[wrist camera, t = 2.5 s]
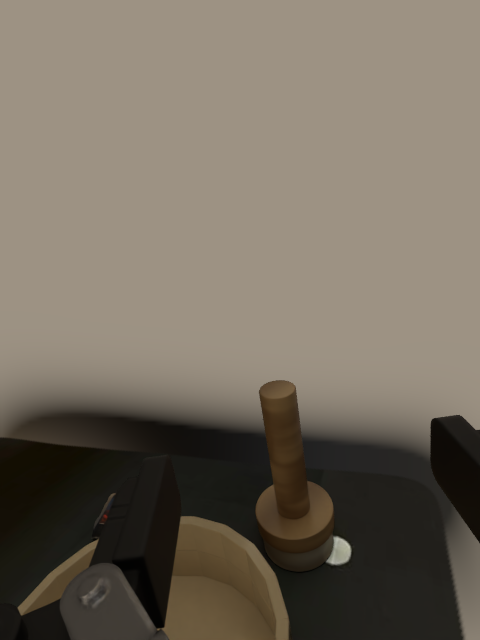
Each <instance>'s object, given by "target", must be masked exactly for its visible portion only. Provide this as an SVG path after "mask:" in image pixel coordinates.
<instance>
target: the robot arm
mask: <svg viewBox="0 0 480 640" xmlns="http://www.w3.org/2000/svg"><path fill="white" fill-rule="evenodd" d="M430 460H431V468H432V471H433V474H434V477H435V479H436V481H437V483H438V484H439V486H440V487H441V488H442V490H443V491H444V493H445V494H446V496H447V497H448V498H449V500H450V501H451V503H452V504H453V505H454V507H455V508H456V510H457V511H458V513H459V514H460V515H461V517H462V518H463V520H464V521H465V523H466V524H467V525H468V527H469V528H470V530H471V531H472V533H473V534H474V535H475V537H476V538H477V540H478V541H479V543H480V430H475V429H474V428H473V427H472V426H471V425H470V424H469V423H468V422H467V421H466V420H465V419H464V418H463V417H462V416H460V415H454V416H448V417H440V418H434V419H432V421H431V457H430ZM180 519H181V499H180V494H179V489H178V485H177V481H176V477H175V473H174V469H173V465H172V461H171V458H170V456H169V455H164V456H157V457H150V458H145V459H144V460H143V462H142V466H141V469H140V472H139V475H138V477H131V478H128V479H127V480H126V481H125V482H124V483H123V484H122V486H121V487H120V488H119V489H118V490H117V492H116V494H115V497H114V500H113V502H112V505H111V509H110V511H109V513H108V516H107V521H105V524H104V527H103V529H102V532H101V535H100V537H99V540H98V543H97V546H96V548H95V551H94V554H93V556H92V559H91V562H90V564H89V567H88V568H86V569H85V570H83V571H82V572H80V573H79V574H78V575H76V576H75V577H74V578H73V579H72V580H71V581H70V583H69V584H68V585H67V587H66V588H65V590H64V592H63V594H62V596H61V598H60V599H58V600H56V601H54V602H52V603H50V604H48V605H45V606H43V607H41V608H38V609H36V610H34V611H31V612H29V613H27V614H24V615H22V616H21V614H20V612H19V610H18V608H17V607H16V606H14V605H12V604H7V603H4V604H0V640H170V639H169V638H168V636H167V635H166V633H165V632H164V631H163V630H162V629H159V628H164V627H165V620H166V614H167V607H168V600H169V593H170V587H171V580H172V573H173V566H174V560H175V553H176V546H177V539H178V533H179V526H180ZM157 629H159V630H157Z"/></svg>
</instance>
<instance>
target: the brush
mask: <svg viewBox="0 0 480 640" xmlns="http://www.w3.org/2000/svg"><path fill="white" fill-rule="evenodd" d="M259 394H260V401H261V407H262V413H263V420H264V426H265V433H266V439H267V445H268V451H269V458H270V465H271V471H272V477H273V484H274V485H272V486H270V487H269V488H267V489H266V490H265V491H264V492H263V493H262V494H261V496H260V497H259V499H258V501H257V504H256V518H257V524H258V529H259V532H260V534H261V536H262V538H263V541H264V546H265V550H266V553H267V555H268V556H269V558H270V559H271V560H272V561H273V562H274V563H275V564H276V565H278V566H280V567H281V568H284V569H286V570H289V571H296V572H302V571H308V570H312V569H314V568H316V567H318V566H320V565H321V564H323V563H324V562H325V561H326V560H327V559H328V557H329V556H330V554H331V552H332V549H333V543H334V540H333V529H334V523H335V521H334V510H333V503H332V500H331V498H330V496H329V495H328V493H327V492H326V491H325V490H324V489H323V488H321V487H320V486H319V485H317V484H315V483H312V482H309V481H307V476H306V468H305V460H304V452H303V444H302V436H301V428H300V421H299V420H300V419H299V411H298V403H297V395H296V387H295V385H294V384H293V383H291V382H289V381H282V380H279V381H272V382H268V383H266V384H264V385H263V386H262V387H261V388H260V390H259Z"/></svg>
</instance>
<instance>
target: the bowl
mask: <svg viewBox="0 0 480 640" xmlns="http://www.w3.org/2000/svg"><path fill="white" fill-rule="evenodd" d="M98 540H99V539H98ZM98 540H96V541H94V542H92V543H90V544H88V545H86V546H85V547H84V548H82V549H81V550H80V551H78V552H77V553H76V554H74V555H73V556H72V557H70V558H69V559H68V560H66V561H65V562H64V563H62V564H61V565H60V566H58V567H57V568H56V569H55V570H53V571H52V572H51V573H50V574H49V575H48V576H47V577H46V578H45V579H44V580H43V581H42V582H41V583H40V584H39V585H38V587H37V588H36V589H35V590H34V591H33V592H32V593H31V594H30V595H29V596H28V597H27V598H26V599H25V600H24V602H23V603H22V604H21V605H20V606H19V607H18V610H19V612H20V614H21V616H22V615H24V614H27V613H29V612H31V611H34V610H36V609H38V608H41V607H43V606H45V605H48V604H50V603H52V602H54V601H56V600H58V599H60V598H61V596H62V594H63V592H64V590H65V588H66V587H67V585H68V584H69V583H70V581H71V580H72V579H73V578H74V577H75V576H76V575H78V574H79V573H80V572H82V571H83V570H85V569H86V568H88V567H89V564H90V562H91V559H92V556H93V554H94V551H95V548H96V546H97V543H98ZM159 629H162V630H163V631H164V632H165V633H166V635H167V636H168V638H169V639H170V640H292V634H291V628H290V622H289V617H288V613H287V610H286V607H285V603H284V600H283V596H282V593H281V590H280V586H279V583H278V580H277V576H276V574H275V573H274V571H273V570H272V568H271V567H270V566H269V564H268V563H267V561H266V560H265V559H264V557H263V556H262V555H261V553H260V552H259V550H258V549H257V548H256V546H255V545H254V544H253V543H252V542H250V541H249V540H247V539H246V538H244V537H243V536H241V535H240V534H238V533H237V532H235V531H234V530H233V529H231V528H230V527H228V526H227V525H224V524H221V523H217V522H213V521H210V520H206V519H202V518H199V517H194V516H181V519H180V526H179V533H178V539H177V546H176V553H175V560H174V566H173V573H172V580H171V587H170V593H169V600H168V607H167V614H166V620H165V627H164V628H159ZM159 629H157V630H159Z"/></svg>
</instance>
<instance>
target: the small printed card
mask: <svg viewBox="0 0 480 640" xmlns="http://www.w3.org/2000/svg"><path fill="white" fill-rule="evenodd" d="M114 497H115V494H114V493H113V494H112V495H110V497H109V498H108V501H107V503H106V504H105V506H104V508H103V510H102V513H101V514H100V516H99V517H98V519H96V522H95V525H94V530H93V534H92V537H91V538H98V539H99V537H100V535H101V532H102V529H103V527H104V524H105V521H107V516H108V513H109V511H110V509H111V505H112V502H113V500H114Z"/></svg>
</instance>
